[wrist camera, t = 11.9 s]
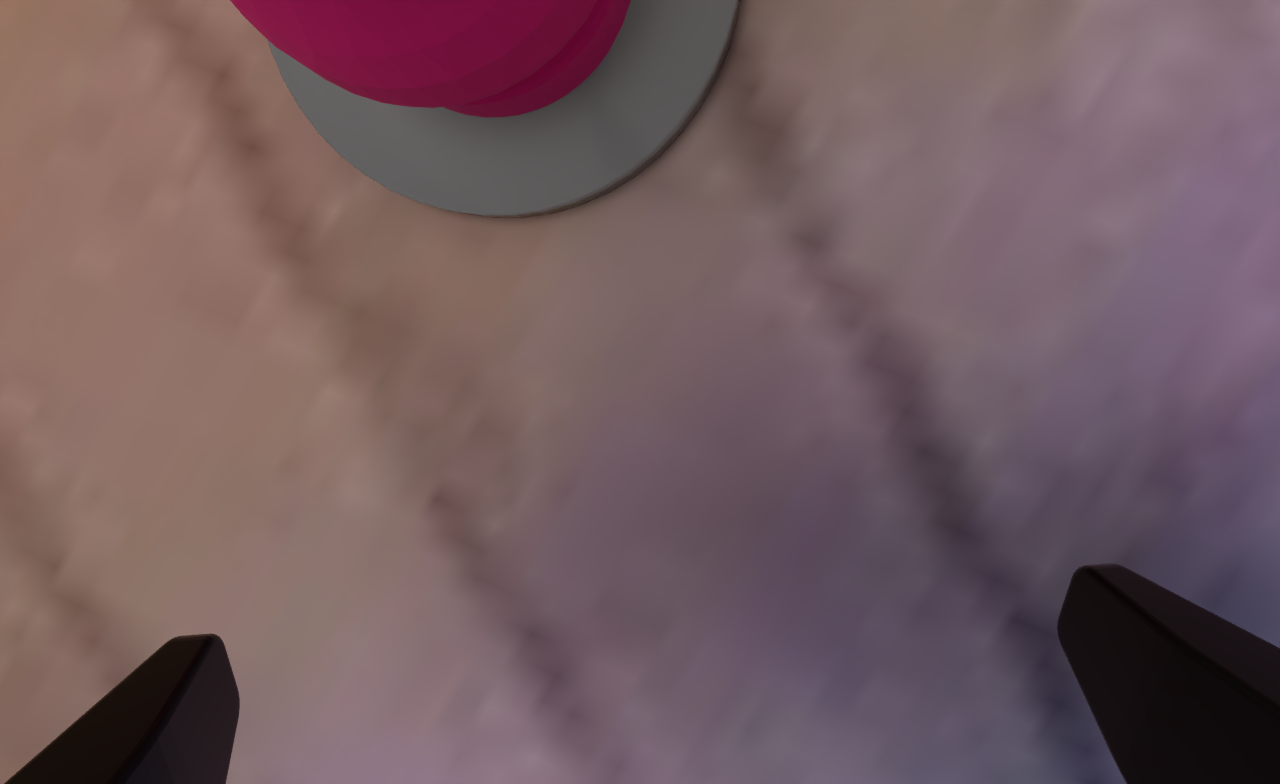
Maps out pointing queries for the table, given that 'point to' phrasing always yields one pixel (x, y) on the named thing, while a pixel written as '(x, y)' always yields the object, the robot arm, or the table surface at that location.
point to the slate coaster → (536, 121)
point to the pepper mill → (445, 48)
